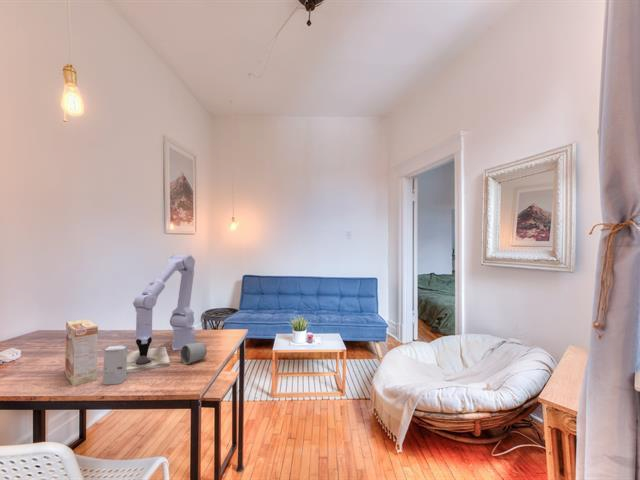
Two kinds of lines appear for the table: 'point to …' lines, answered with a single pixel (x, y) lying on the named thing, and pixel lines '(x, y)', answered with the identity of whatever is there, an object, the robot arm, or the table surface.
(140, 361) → the ball
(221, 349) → the table surface
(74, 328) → the coffeecake box
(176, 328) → the robot arm
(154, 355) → the board
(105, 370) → the skincare box
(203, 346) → the ceramic mug
